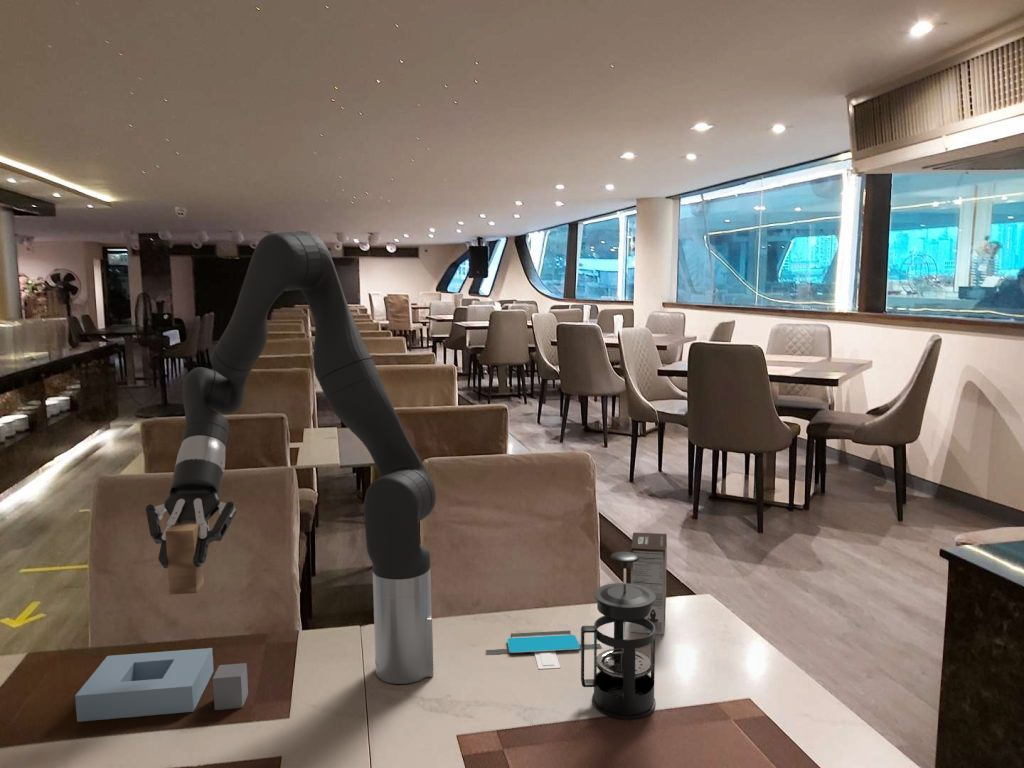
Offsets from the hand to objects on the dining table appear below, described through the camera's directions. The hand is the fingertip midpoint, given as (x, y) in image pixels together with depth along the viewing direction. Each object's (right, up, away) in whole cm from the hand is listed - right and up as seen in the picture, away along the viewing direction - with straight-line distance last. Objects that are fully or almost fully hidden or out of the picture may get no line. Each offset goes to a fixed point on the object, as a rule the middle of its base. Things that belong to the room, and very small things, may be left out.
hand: (181, 565), depth 112 cm
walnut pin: (0, -4, +2) cm, 5 cm away
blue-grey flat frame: (-5, -20, +1) cm, 21 cm away
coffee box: (+76, -17, +24) cm, 82 cm away
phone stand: (+56, -19, +14) cm, 61 cm away
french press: (+67, -20, -2) cm, 70 cm away
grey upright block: (+8, -21, -1) cm, 22 cm away
